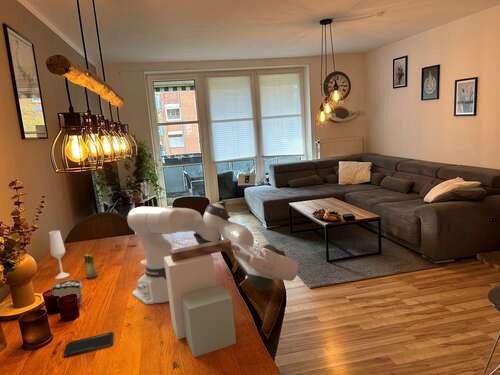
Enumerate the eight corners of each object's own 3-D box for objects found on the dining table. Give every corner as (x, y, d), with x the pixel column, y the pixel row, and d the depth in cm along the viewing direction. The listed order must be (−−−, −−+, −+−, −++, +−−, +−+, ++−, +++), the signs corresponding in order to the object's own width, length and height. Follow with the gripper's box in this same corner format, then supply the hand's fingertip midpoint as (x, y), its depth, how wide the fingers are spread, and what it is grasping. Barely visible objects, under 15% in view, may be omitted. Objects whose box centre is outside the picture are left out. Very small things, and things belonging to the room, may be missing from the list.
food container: (90, 299, 152) (86, 277, 150) (83, 306, 146) (80, 284, 144) (61, 301, 152) (57, 280, 150) (54, 309, 146) (50, 286, 144)
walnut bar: (228, 246, 128) (227, 238, 127) (231, 249, 124) (231, 241, 124) (171, 258, 120) (170, 250, 119) (173, 261, 116) (172, 253, 116)
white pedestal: (211, 313, 132) (205, 248, 128) (220, 326, 123) (213, 256, 118) (172, 325, 126) (163, 257, 122) (177, 339, 117) (168, 266, 113)
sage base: (226, 328, 121) (221, 285, 119) (236, 343, 112) (232, 297, 110) (186, 340, 116) (181, 295, 114) (193, 357, 107) (188, 309, 104)
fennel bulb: (85, 277, 177) (82, 254, 175) (96, 274, 180) (92, 252, 178) (88, 280, 173) (84, 257, 171) (98, 277, 176) (95, 254, 174)
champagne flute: (64, 272, 186) (57, 229, 182) (72, 274, 182) (64, 230, 178) (52, 277, 180) (44, 232, 176) (59, 279, 177) (51, 234, 173)
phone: (67, 342, 119) (113, 331, 124) (67, 345, 119) (114, 334, 124) (62, 356, 112) (112, 343, 116) (63, 359, 112) (113, 346, 116)
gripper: (271, 278, 122) (237, 266, 116) (248, 259, 140) (218, 249, 135) (278, 261, 122) (245, 249, 116) (254, 245, 141) (225, 234, 135)
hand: (230, 249), depth 126 cm, fingers open, 8 cm apart
